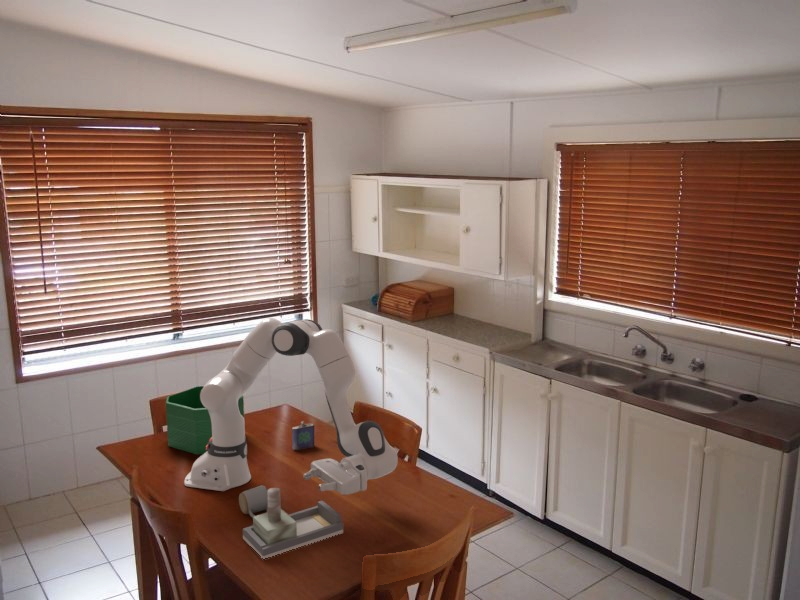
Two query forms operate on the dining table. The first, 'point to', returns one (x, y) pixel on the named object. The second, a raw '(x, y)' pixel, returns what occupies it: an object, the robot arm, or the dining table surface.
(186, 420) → the planter
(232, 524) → the dining table surface
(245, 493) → the ceramic mug
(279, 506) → the block with upright post
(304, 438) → the flask
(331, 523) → the tray
